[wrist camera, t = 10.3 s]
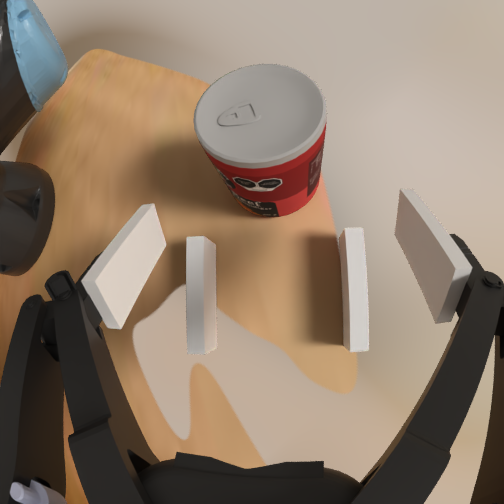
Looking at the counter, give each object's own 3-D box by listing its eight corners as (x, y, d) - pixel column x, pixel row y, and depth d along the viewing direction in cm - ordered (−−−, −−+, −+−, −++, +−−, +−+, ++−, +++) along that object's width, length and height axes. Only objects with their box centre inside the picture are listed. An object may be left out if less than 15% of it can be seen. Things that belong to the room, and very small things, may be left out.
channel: (359, 344, 23) (368, 350, 20) (201, 347, 25) (187, 353, 22) (354, 237, 25) (362, 227, 21) (200, 245, 27) (186, 236, 23)
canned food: (216, 172, 28) (172, 104, 17) (286, 129, 27) (276, 47, 17) (261, 238, 26) (234, 192, 15) (336, 188, 26) (354, 117, 15)
